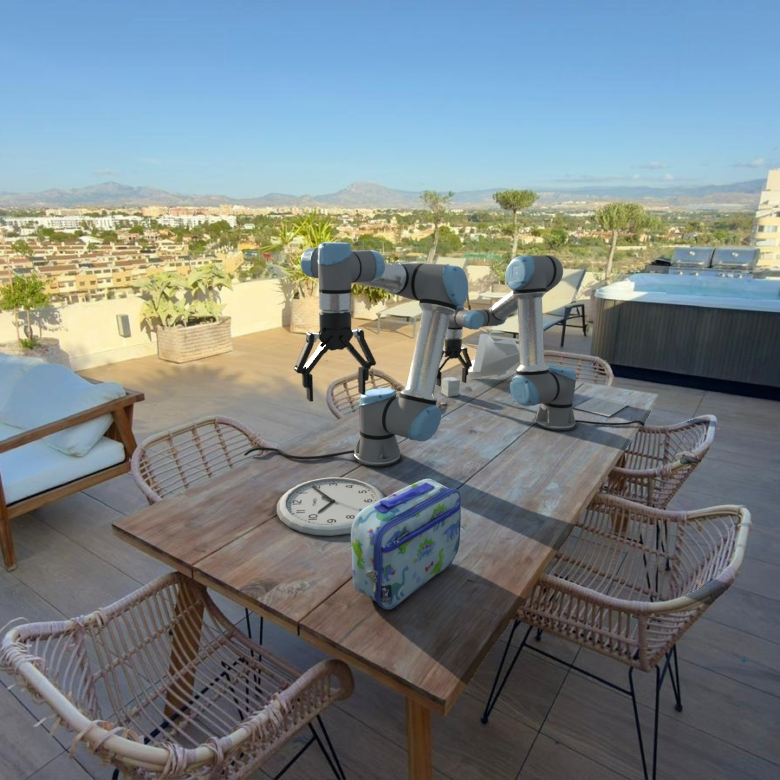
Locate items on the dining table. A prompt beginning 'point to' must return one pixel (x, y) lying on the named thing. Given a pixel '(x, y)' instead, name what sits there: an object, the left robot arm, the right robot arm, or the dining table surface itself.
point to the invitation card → (601, 406)
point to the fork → (442, 402)
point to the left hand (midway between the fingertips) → (336, 396)
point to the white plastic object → (494, 357)
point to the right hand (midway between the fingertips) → (451, 383)
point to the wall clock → (326, 505)
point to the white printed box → (450, 386)
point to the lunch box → (405, 541)
